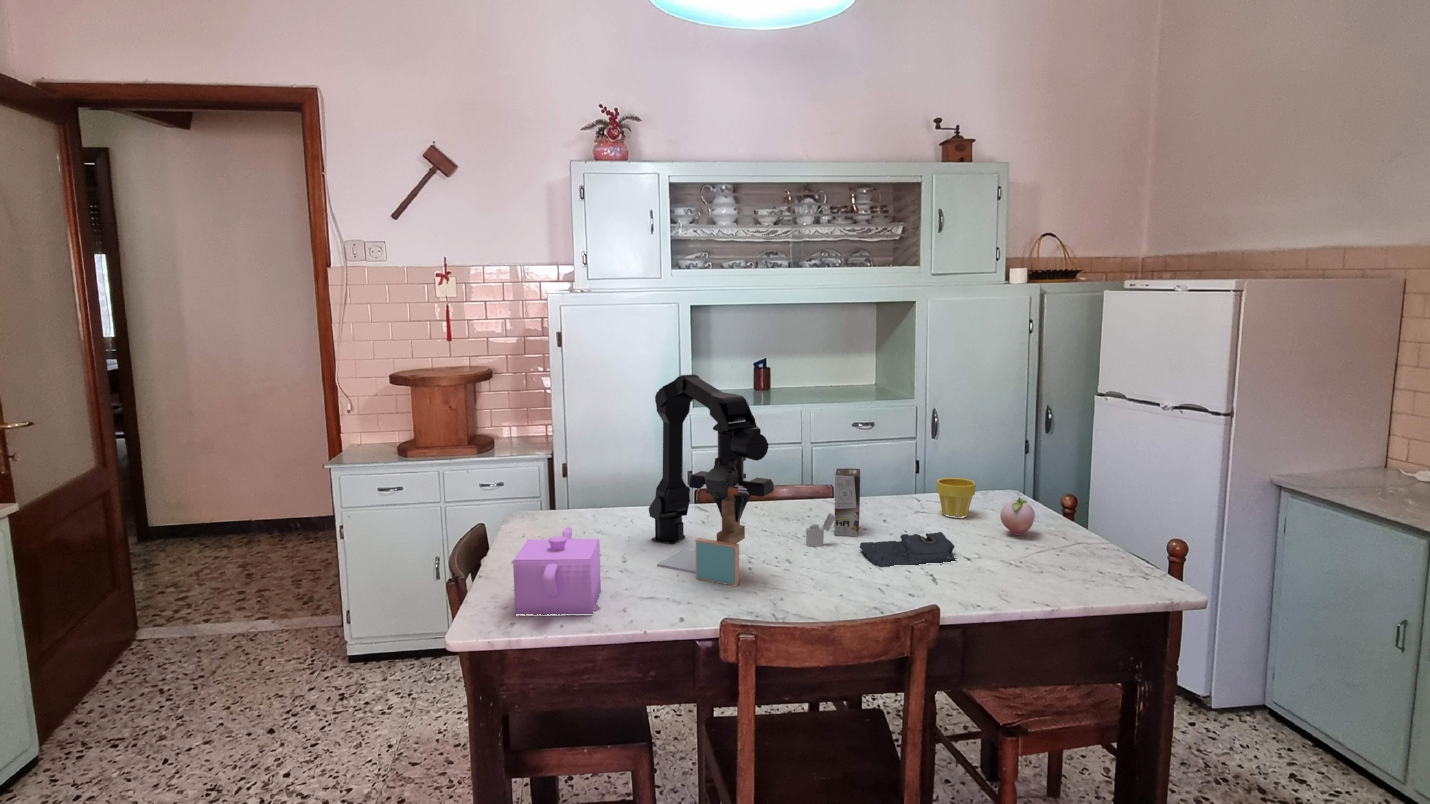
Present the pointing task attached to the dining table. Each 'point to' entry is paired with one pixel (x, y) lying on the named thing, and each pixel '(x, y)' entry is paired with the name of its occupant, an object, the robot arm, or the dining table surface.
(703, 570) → the tile
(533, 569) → the teapot
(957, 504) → the plant pot
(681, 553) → the mat
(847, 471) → the coffee box
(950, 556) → the dark grey folded shirt
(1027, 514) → the decorative fruit
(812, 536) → the lighter
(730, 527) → the brown stepped wooden block
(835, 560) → the dining table surface
